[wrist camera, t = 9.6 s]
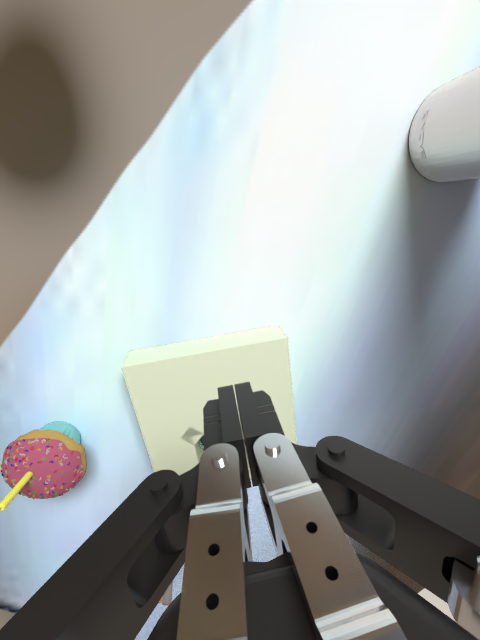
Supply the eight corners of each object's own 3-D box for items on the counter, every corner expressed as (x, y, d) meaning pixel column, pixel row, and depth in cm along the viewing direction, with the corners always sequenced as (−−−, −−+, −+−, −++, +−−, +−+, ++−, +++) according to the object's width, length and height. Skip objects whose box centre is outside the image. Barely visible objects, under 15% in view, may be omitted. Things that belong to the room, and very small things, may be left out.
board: (278, 324, 37) (332, 402, 22) (290, 446, 44) (337, 568, 29) (111, 354, 36) (49, 458, 21) (150, 475, 42) (124, 619, 28)
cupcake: (10, 421, 37) (-71, 514, 26) (77, 398, 37) (24, 481, 26) (48, 471, 40) (-10, 573, 29) (109, 450, 40) (75, 543, 29)
